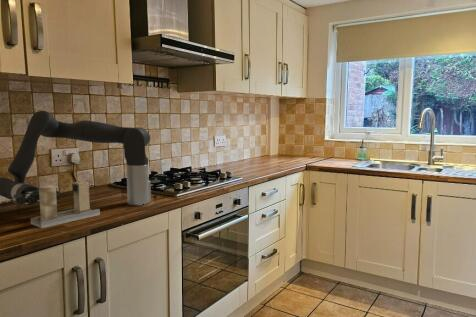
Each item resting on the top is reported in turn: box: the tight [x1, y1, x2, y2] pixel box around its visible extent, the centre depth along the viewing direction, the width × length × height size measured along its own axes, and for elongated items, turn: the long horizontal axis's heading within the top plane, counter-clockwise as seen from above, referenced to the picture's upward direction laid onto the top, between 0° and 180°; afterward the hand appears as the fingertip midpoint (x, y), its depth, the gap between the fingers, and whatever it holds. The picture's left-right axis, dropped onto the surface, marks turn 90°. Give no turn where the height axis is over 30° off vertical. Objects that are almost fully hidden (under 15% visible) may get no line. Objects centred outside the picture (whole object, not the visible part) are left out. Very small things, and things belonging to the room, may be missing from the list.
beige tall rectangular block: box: [38, 185, 58, 221], centre depth 131 cm, size 4×4×12 cm
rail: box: [30, 180, 101, 229], centre depth 136 cm, size 22×8×13 cm, turn 143°
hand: (46, 199), depth 132 cm, fingers open, 8 cm apart
